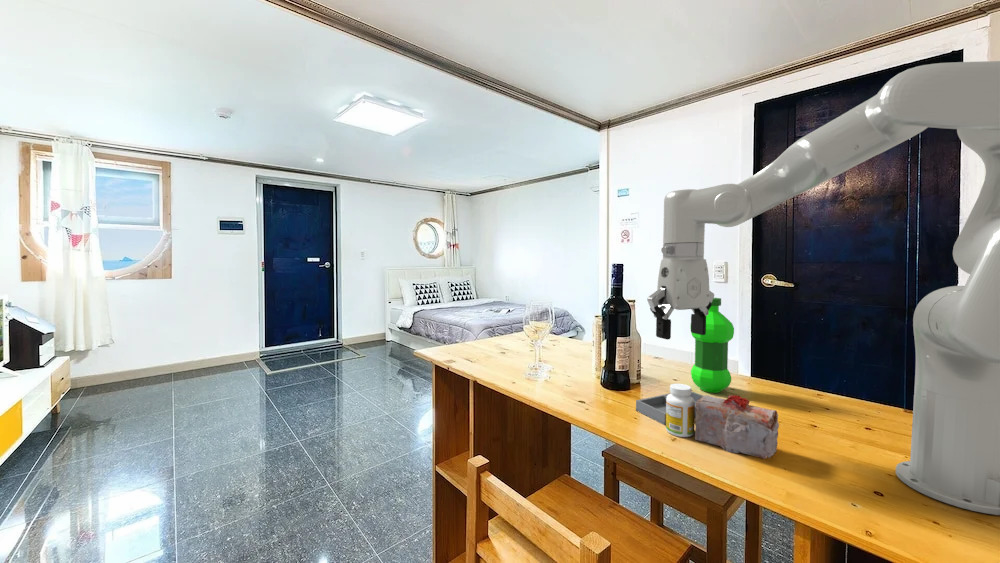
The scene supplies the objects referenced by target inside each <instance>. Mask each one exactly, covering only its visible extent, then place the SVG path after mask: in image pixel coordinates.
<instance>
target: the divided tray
mask: <svg viewBox="0 0 1000 563" xmlns="http://www.w3.org/2000/svg"><path fill="white" fill-rule="evenodd" d="M669 394H671V393H666V394H661V395H656V396H651V397H650V396H649V397H646V398H641V399H637V400H635V411H636V412H638V411H639V412H638V413H640V414H642V415H644V416H646V415H647V416H646V417H648V416H649V417H648V418H650V419H651V420H653V421H655V420H656V422H658V423H659V424H662V425H664V426H666V398H667V396H668V395H669ZM690 396H691V397H692V398H693V399H694V401H695V419H696V402H697V400H698V399H699V398H701V397H702V396H704V394H703V395H702V394H700V393H697V392H695V391H692V390H691V395H690Z"/></svg>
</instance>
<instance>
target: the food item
mask: <svg viewBox="0 0 1000 563" xmlns="http://www.w3.org/2000/svg"><path fill="white" fill-rule="evenodd" d="M778 419H779V414H778V411H777V409H769V408H764V407H759V406H755V405H751V404H750V400H749V399H747V398H746V397H742V396H741V395H735V394H733V395H732V394H730V395H727V398H726V399H725V398H720V397H715V396H711V395H703V396H702V397H701V398H699V399H698V400H697V402H696V418H695V420H694V427H695V430H694V439H695V441H698V442H703V443H707V444H709V445H712V446H717V447H721V448H722V449H723V450H724V451H725V452H727V453H734V454H738V453H741V454H744V455H748V456H753V457H756V458H761V459H764V460H765V459H768V458H769V459H770V458H771V457H772V456H774V455H775V453H776V452H777V449H778V437H779V426H780V423H779V420H778Z"/></svg>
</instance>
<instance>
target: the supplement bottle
mask: <svg viewBox="0 0 1000 563" xmlns="http://www.w3.org/2000/svg"><path fill="white" fill-rule="evenodd" d="M691 391H692V386H690V385H688V384H685V383H671V384H670V386H669V392H670V393H671V394H670V393H668V394H669V395H668V396H667V398H666V425H665V430H666V431H667V433H669V434H670V435H673V436H675V437H680V438H688V437H692V436H695V421H696V418H695V401H694V399H693V398H692V397H691V396H690V395H691Z"/></svg>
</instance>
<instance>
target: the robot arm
mask: <svg viewBox="0 0 1000 563" xmlns="http://www.w3.org/2000/svg"><path fill="white" fill-rule="evenodd" d="M928 128H936V129H950V130H956V133H957V136H958V138H959V140H960V141H961V142H962V144H964V145H965V146H966V147H967V148H969V149H970V150H972V151H973V152H974V153H975V154H977V156H978V157H979V158H980V159H981V161H982V162H983V164H984V168H985V176H984V179H983V180H984V181H983V183H982V186H981V189H980V192H979V194H978V197H977V199H976V201H975V203H974V205H973V207H972V208H971V211H970V213H969V215H968V217H967V219H966V222H965V223H964V225H963V227H962V228H961V231H960V233H959V234H958V237H956V238H957V239H956V241H955V242H954V245H953V249H952V257H953V261H954V263H955V264H956V265H957V267H958V268H959V269H960V270H962V271H963V272H965V273H967V274H969V276H968V278H967V281H966V282H965V284H964V285H952V286H946V287H942V288H938V289H936V290H933V291H931V292H929V293H928V294H926V295H925V296H924V297H923V298H922V299H921V300H920V301H919V302H918V304H917V305H916V307H915V310H914V312H913V318H912V322H913V323H912V327H913V336H914V338H913V339H914V348H915V349H914V350H915V370H914V371H915V372H914V373H915V375H914V387H913V388H914V390H913V391H914V392H913V393H914V394H913V404H912V405H913V407H912V408H913V410H912V423H911V424H912V425H911V427H912V428H911V439H910V440H911V442H910V460H906V461H905V460H904V461H901V462H899V463H897V464H896V466H895V475H896V477H897V478H898V479H900V481H901V482H903V483H904V484H905V485H907V487H910V488H911V489H912V490H915V491H916V492H919V493H920V494H923V495H925V496H926V497H929V498H932V499H934V500H937V501H939V502H942V503H945V504H947V505H951V506H954V507H957V508H960V509H965V510H968V511H972V512H976V513H982V514H986V515H987V514H988V515H995V516H1000V60H995V61H994V60H993V61H991V60H990V61H985V60H984V61H957V62H939V63H938V62H937V63H930V64H922V65H918V66H917V65H916V66H915V67H911V68H907V69H906V70H904V71H902V72H899V73H897V74H896V75H895V76H893V77H892V78H890V79H889V80H888V81H886V83H885V84H884V85H883V86H882V87H881V88H880V89H879V91H878V92H877V94H875V95H873V96H872V97H870V98H869V99H867V100H865V101H863V102H862V103H860V104H858V105H856V106H855V107H853V108H851V109H849V110H848V111H846V112H844V113H842V114H841V115H840V116H838V117H836V118H834V119H832V120H830V121H829V122H826V123H825V124H823V125H821V126H820V127H818V128H817V129H814V130H813V131H811V132H809V133H807V134H806V135H804V136H802V137H801V138H799V139H797V140H796V141H795V142H793V144H791V145H790V146H788V148H786V150H784V151H783V152H782V153H781V154H780V155H779V156H778V157H777V158H776V159H775V160H773V161H772V162H771V163H770V164H768V165H766V167H764V168H763V169H761V170H760V171H758V172H757V173H755V174H754V175H751V176H749V177H748V178H746V179H744V180H743V181H741V182H739V183H723V184H719V185H714V186H709V187H705V188H701V189H700V188H699V189H694V188H693V189H689V188H688V189H687V188H686V189H678V190H673V191H669V192H668V193H666V195H665V196H664V199H663V234H662V235H663V236H662V239H663V240H662V243H663V244H662V248H661V253H662V259H661V260H660V264H659V265H660V266H659V271H658V277H657V278H658V279H657V288H656V289H657V290H655V291H654V292H653V293H651V295H648V297H647V303H648V305H649V307H650V308H649V309H650V312H651V313H652V314H653V317H654V319H655V322H656V324H655V326H656V327H655V330H656V331H655V336H656V337H657V338H659V339H664V340H670V339H671V338H672V335H671V334H672V320H671V319H670V316H671V315H672V313H673V312H674V310H677V311H685V310H691V311H692V312H693V313H690V315H691V316H690V325H691V329H690V333H691V332H692V333H695V334H700V335H705V334H706V316H707V315H708V314H709V311H708V310H709V309H710V307H711V305H712V304H711V303H712V301H713V298H715V293H714V292H712V291H711V290H710V277H709V276H710V275H709V268H708V263H707V259H705V257H704V256H705V234H706V233H705V232H706V230H705V228H706V226H705V224H710V225H711V224H712V225H717V226H720V227H724V228H733V227H736V226H739V225H741V224H743V223H746V222H747V221H749V220H751V219H753V218H755V217H757V216H758V215H761V214H763V213H765V212H766V211H769V210H771V209H773V208H775V207H777V206H778V205H780V204H783V203H785V201H788V200H790V199H791V198H794V197H796V196H798V195H800V194H803V193H806V192H807V191H809V190H812V189H814V188H816V187H818V186H820V185H821V184H823V183H825V182H827V181H828V180H831V179H833V178H835V177H837V176H839V175H841V174H842V173H845V172H847V171H848V170H850V169H852V168H854V167H856V166H858V165H859V164H860V165H861V164H862V163H864V162H866V161H868V160H869V159H872V158H873V157H876V156H878V155H880V154H882V153H885V152H886V151H888V150H890V149H892V148H894V147H896V146H898V145H899V144H901V143H904V142H905V141H907V140H910V139H911V138H913V137H915V136H917V135H918V134H920V133H922V132H924V131H925V130H927V129H928Z"/></svg>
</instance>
